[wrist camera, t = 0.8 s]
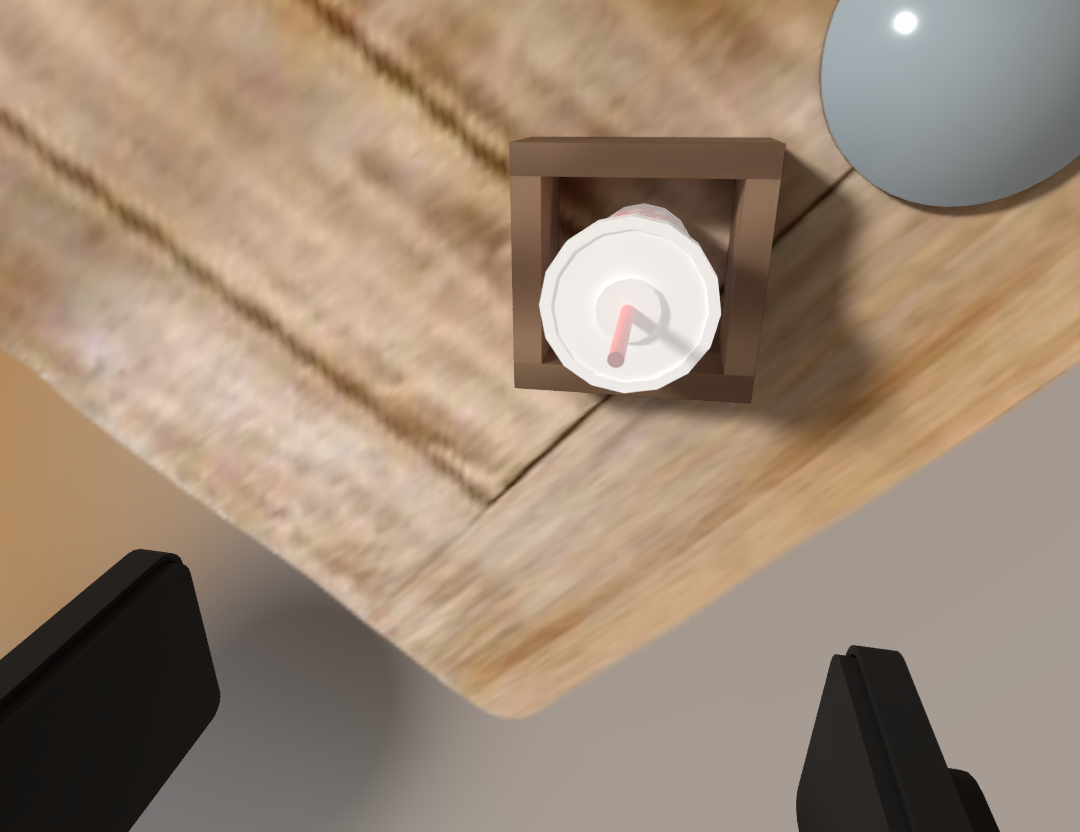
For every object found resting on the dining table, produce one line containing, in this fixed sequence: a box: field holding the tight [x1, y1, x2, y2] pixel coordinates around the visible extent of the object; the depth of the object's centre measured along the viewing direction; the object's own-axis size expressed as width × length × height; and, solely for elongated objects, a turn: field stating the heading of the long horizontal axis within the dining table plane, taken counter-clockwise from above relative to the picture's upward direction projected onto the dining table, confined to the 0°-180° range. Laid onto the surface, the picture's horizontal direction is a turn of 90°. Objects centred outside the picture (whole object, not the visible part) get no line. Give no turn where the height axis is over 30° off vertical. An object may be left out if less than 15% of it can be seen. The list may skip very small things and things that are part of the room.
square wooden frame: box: [509, 137, 786, 404], centre depth 29 cm, size 10×10×4 cm
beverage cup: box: [539, 203, 721, 393], centre depth 25 cm, size 6×6×14 cm
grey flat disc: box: [819, 0, 1080, 207], centre depth 26 cm, size 11×11×1 cm
